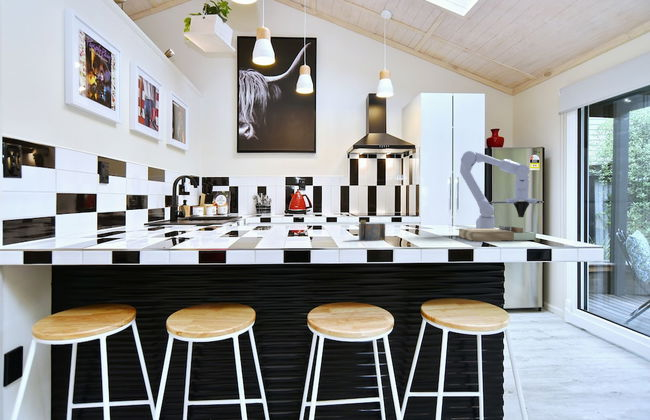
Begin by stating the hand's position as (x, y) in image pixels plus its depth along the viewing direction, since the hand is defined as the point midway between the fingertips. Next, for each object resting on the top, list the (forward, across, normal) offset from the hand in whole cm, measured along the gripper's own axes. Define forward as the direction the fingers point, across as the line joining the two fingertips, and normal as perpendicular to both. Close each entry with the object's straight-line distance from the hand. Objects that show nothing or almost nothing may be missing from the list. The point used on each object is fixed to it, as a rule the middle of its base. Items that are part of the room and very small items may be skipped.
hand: (521, 217), depth 169 cm
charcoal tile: (+6, -13, -7) cm, 16 cm away
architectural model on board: (+10, -76, -13) cm, 78 cm away
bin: (+9, -9, -10) cm, 16 cm away
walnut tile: (+6, -12, -14) cm, 19 cm away
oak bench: (+9, -23, -10) cm, 27 cm away
